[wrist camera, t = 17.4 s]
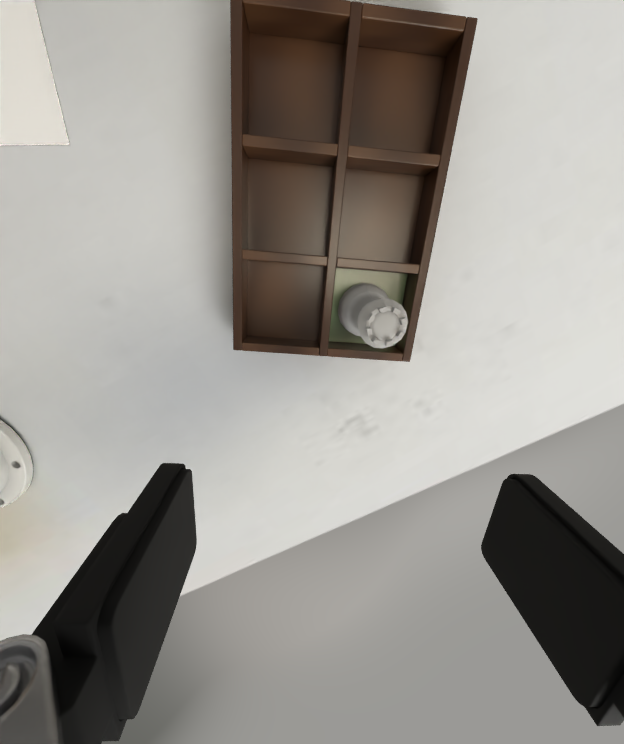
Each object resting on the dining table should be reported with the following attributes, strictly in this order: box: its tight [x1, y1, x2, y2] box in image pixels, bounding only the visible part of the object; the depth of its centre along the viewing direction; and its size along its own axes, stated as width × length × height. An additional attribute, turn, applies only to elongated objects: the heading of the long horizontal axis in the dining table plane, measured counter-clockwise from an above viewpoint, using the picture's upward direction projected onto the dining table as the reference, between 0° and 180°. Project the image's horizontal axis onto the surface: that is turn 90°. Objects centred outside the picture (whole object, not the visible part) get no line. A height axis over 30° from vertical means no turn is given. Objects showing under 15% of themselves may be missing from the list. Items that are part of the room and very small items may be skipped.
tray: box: [230, 0, 477, 362], centre depth 23 cm, size 15×22×3 cm
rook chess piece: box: [338, 283, 408, 348], centre depth 22 cm, size 4×4×8 cm
